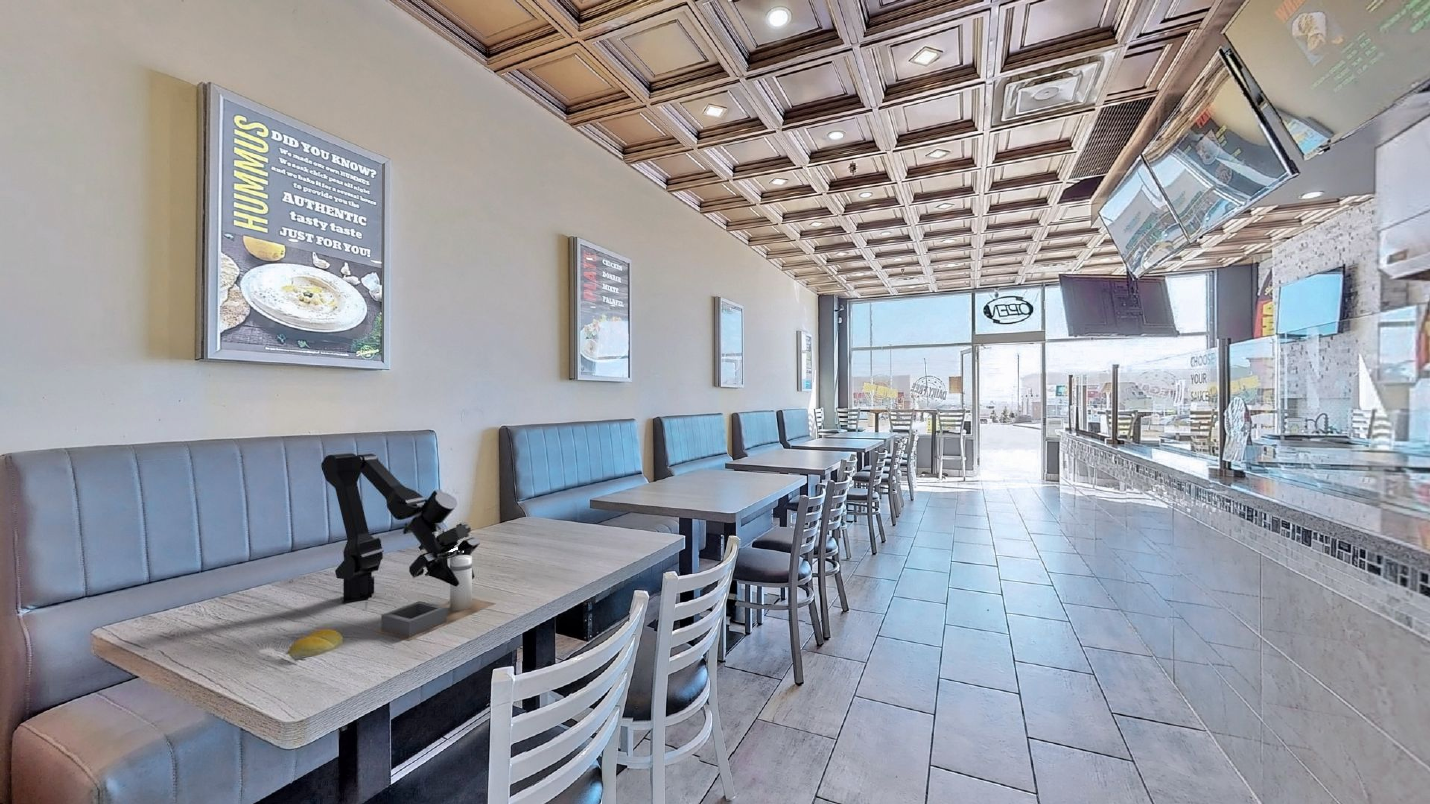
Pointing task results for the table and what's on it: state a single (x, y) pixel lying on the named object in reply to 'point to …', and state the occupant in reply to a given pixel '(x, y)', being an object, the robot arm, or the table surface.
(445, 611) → the socket collar
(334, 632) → the bread roll
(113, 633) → the table surface
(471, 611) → the board
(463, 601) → the white capped cylinder
